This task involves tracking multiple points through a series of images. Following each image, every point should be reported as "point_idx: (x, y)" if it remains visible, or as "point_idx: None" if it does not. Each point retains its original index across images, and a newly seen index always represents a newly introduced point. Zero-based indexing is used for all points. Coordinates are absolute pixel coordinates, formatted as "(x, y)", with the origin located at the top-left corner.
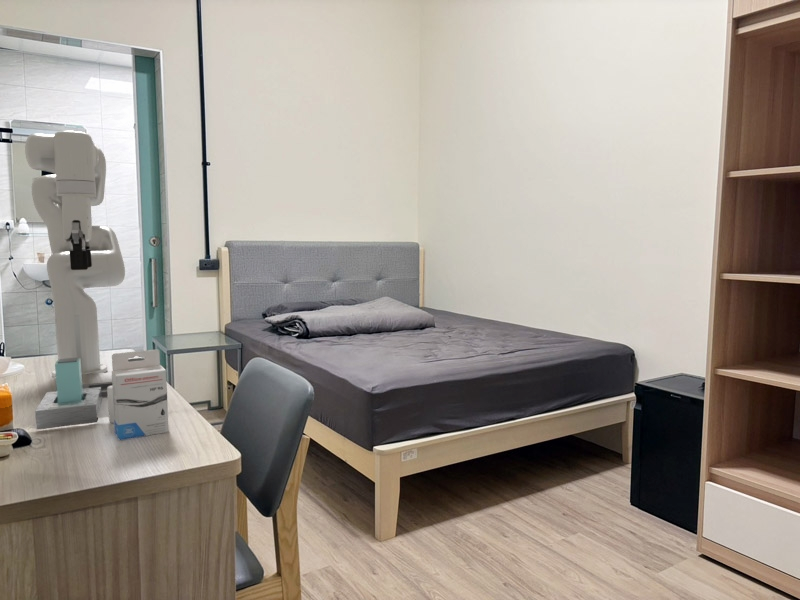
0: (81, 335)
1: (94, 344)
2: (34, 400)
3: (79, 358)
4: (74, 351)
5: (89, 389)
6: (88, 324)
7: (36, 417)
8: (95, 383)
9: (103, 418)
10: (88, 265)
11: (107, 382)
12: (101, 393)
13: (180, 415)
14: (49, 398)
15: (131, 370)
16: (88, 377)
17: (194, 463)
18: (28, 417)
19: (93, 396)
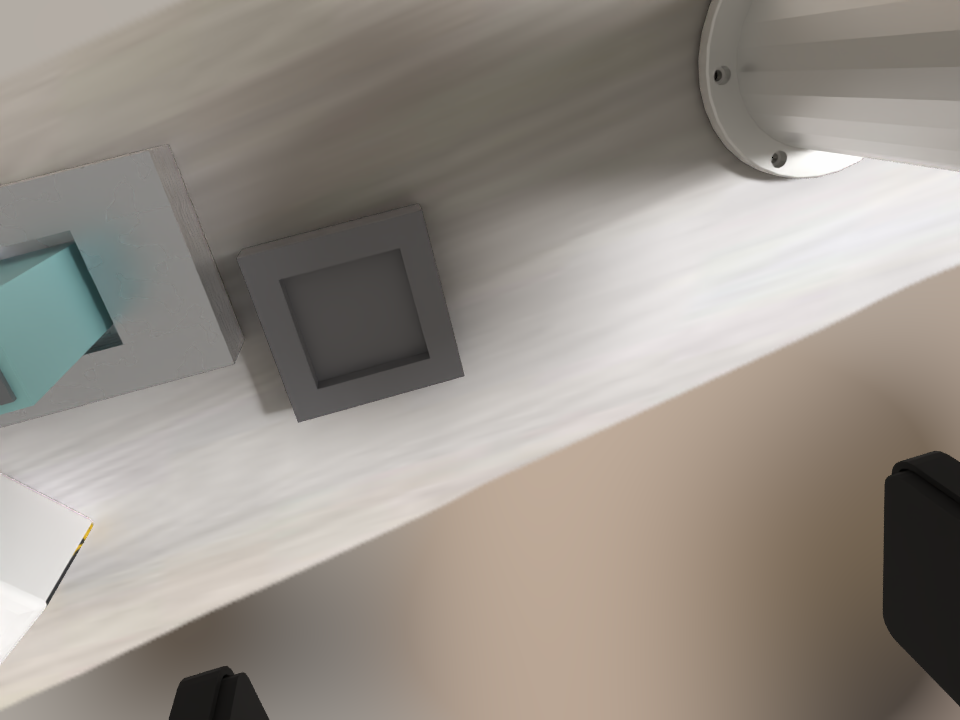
0: (872, 104)
1: (866, 155)
2: (322, 15)
3: (26, 403)
4: (805, 58)
5: (190, 331)
6: (943, 149)
7: None
8: (431, 263)
9: None
10: (901, 615)
11: (441, 309)
12: (268, 340)
13: (66, 639)
14: (29, 212)
15: None
16: None
17: None
18: (35, 108)
19: (64, 391)
